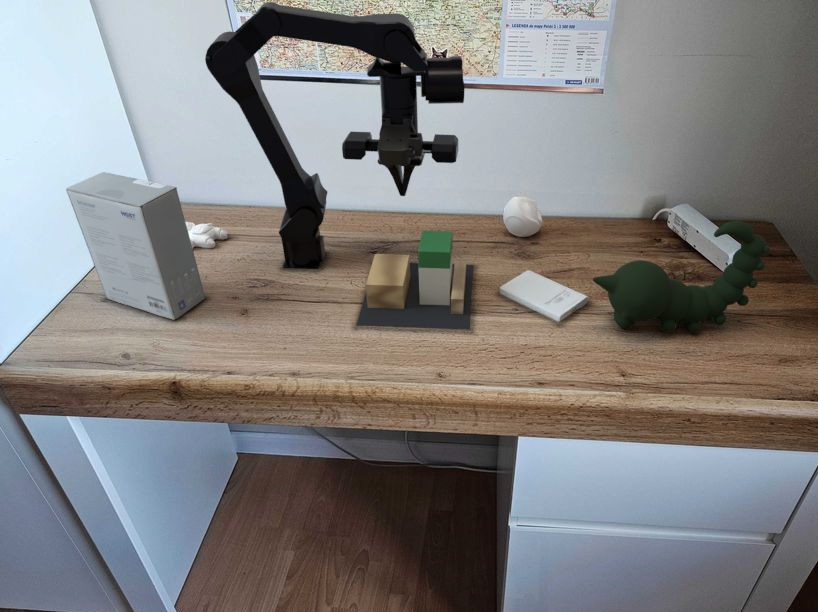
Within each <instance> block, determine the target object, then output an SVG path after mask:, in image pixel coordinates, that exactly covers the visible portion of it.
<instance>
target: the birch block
mask: <svg viewBox="0 0 818 612" xmlns="http://www.w3.org/2000/svg"><path fill="white" fill-rule="evenodd" d="M410 263H411V256H410V254H394V253H392V254H391V253H390V254H389V253H375V254H374V256H373V259H372V262H371V266H370V269H369V273H368V275H367V279H366V283H365V294H366V293H367V305H368V308H389V309H404V307H405V302H406V297H407V292H408V287H409V282H410Z"/></svg>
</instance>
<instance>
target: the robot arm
mask: <svg viewBox="0 0 818 612" xmlns="http://www.w3.org/2000/svg"><path fill="white" fill-rule="evenodd" d="M415 32H416V31H415V27H414V25H413V23H412V22H411V21H410V19H409V18H408V17H407V16H405V15H404V14H401V13H395V12H394V13H373V14H368V15H359V16H358V15H357V16H355V15H346V14H341V13H333V12H329V11H321V10H316V9H315V10H314V9H308V8H300V7H295V6H289V5H282V4H278V3H276V2H273V1H267V2H264V3H262V4H261V5H260V7H259V8H258V9H257V11H256V12H255V13H254V14H253V15H252V16H251V17H250V18H248V19H247V20H246V21H245V22H244V23H243V24H241V25H240V26H239V28H237V29H236V30H235V31H225V32H222V33H221V34H219V35H218V36H217V37H216V38H215V39H214V40H213V42H212V43H211V44H210V45H209V47H208V48H207V49H206V53H205V57H204V60H205V65H206V67H207V70H208V71H209V73H210V74H211V76H212V77H213V78H214V80H215V81H216V82H217V83H218V85H219V86H220V87H221V89H222V90H223V91H224V92H225V93H226V94H227V95H228V96H230V97H231V98H232V100H234V101H235V103H236V104H237V105H238V106H239V108H240V110H241V112H242V113H243V115H244V118H245V119H246V122H247V124H248V125H249V127H250V128H251V131H252V132H253V135H254V136H255V138H256V140H257V142H258V143H259V145H260V147H261V149H262V151H263V153H264V155H265V157H266V158H267V160H268V163H269V164H270V166H271V168H272V170H273V172H274V174H275V175H276V178H277V179H278V181H279V184H280V186H281V191H282V197H283V201H284V206H285V210H284V214H283V217H282V220H281V224H280V227H279V230H278V235H279V236H280V238H281V239H280V240H281V245H282V250H283V256H284V262H283V264H282V269H294V270H295V269H298V270H318V269H320V266H321V264H322V263H323V262H324V261H325V258H326V248H325V240H324V239H325V238H324V236H323V235H322V234H321V231H320V226H321V225H322V224H323V221H324V218H325V212H326V208H327V207H326V206H327V196H328V190H327V189H325V187H324V186H323V184H322V182H321V178H320V175H319V173H317V172H316V173H314V174H312V175H310V174H309V173H308V172H306V170H305V169H304V168H303V167H302V165H301V163H300V161H299V159H298V157H297V155H296V152H295V151H294V149H293V147H292V145H291V143H290V141H289V139H288V137H287V135H286V133H285V131H284V129H283V127H282V125H281V123H280V121H279V119H278V117H277V115H276V113H275V112H274V109H273V107H272V105H271V103H270V102H269V99H268V97H267V96H266V93H265V92H264V89H263V86H262V81H261V76H260V70H259V65H258V63H257V60H256V56H255V55H256V53H258V52H259V51H260V50H261V49H262V48H263V47H264V46H265V45H266V44H267V43H268V42H269V41H270V40H271V39H273V37H281V38H286V39H287V38H288V39H294V40H301V41H306V42H314V43H321V44H329V45H336V46H342V47H348V48H353V49H355V50H359V51H361V52H362V53H363V52H364V53H366V54H367V55H369V56H370V57H374V60H373V62H372V63H371V64H369V65H368V67H367V71H366V75H367V77H369V78H377V77H378V78H379V89H380V92H379V93H380V104H381V105H380V108H381V125H380V130H379V134H378V136H379V138H378V139H377V138H376V139H375V138H374V139H373V135H372V133H371V132H370V131H350V132H349V133H348V134H347V135H346V137H345V139H344V141H343V142H342V144H341V153H342V159H344V160H355V161H358V160H359V161H361V160H363V159H364V157H366V154H367V152H376V153H377V155H378V159H377V164H378V165H382V166H384V167H385V168H386V169H387V170H388V171H389V173H390V175H391V177H392V180H393V181H394V184H395V186H396V189H397V192H398V194H399V196H400V197H406V195H407V192H408V188H409V185H410V181H411V177H412V174H413V172H414V169H415V167H420V166H422V165H423V162H424V159H425V154H431V159H432V160H433V161H434V162H435V163H442V164H453V163H456V162H457V159H458V155H459V138H458V136H456V134H440V133H439V134H437V133H435V134H434V137H433V140H432V141H431V140H424V137H423V134H422V132H419V125H418V124H419V123H418V121H419V120H418V88H417V87H418V86H417V77H420V96H421V98H425V99H424V100H425V101H427V102H428V105H432V104H433V105H435V104H441V105H442V104H464V101H465V81H464V70H463V69H464V67H463V57H462V56H461V55H454V56H449V57H428V55H427V53H426V51H425V48H423V47H422V45H421V44H420V43H419V41H418V40H417V39H416V33H415ZM402 64H403V65H402ZM402 167H403V168H402Z"/></svg>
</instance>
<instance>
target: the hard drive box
mask: <svg viewBox="0 0 818 612" xmlns="http://www.w3.org/2000/svg"><path fill="white" fill-rule="evenodd" d="M65 189H66V190H65V191H66V193H67V196H68V199H69V201H70V204H71V207H72V209H73V212H74V215H75V218H76V221H77V223H78V225H79V228H80V231H81V234H82V236H83V239H84V242H85V245H86V247H87V250H88V253H89V256H90V258H91V261H92V263H93V266H94V268H95V271H96V274H97V276H98V279H99V282H100V285H101V287H102V290H103V292H104V295H105V298H106V299H107V300H110V301H113V302H115V303H119V304H122V305H125V306H129V307H132V308H135V309H138V310H142V311H144V312H148V313H151V314H153V315H156V316H159V317H163V318H167V319H170V320H173V321H174V320H177V319H179V318H180V317H182V316H183V315H184V314H186V313H187V312H188V311H190V310H191V309H193V308H194V307H195V306H196V305H198V304H199V303H200V302H202V301H203V300H205V299H206V294H205V291H204V286H203V282H202V279H201V276H200V271H199V268H198V264H197V260H196V257H195V256H196V255H195V253H194V248H193V249H192V245H191V241H190V237H189V234H188V230H187V226H186V222H187V221H186V219H185V216H184V215H185V214H184V212H183V208H182V204H181V200H180V197H179V193H178V187H176V186H172V185H168V184H164V183H159V182H154V181H149V180H145V179H140V178H135V177H131V176H126V175H120V174H115V173H111V172H106V171H103V172H100V173H97V174H95V175H93V176H91V177H88V178H86V179H84V180H82V181H79V182H77V183H75V184H73V185H70V186H68V187H66V188H65Z"/></svg>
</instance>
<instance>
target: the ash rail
mask: <svg viewBox="0 0 818 612" xmlns="http://www.w3.org/2000/svg"><path fill="white" fill-rule="evenodd" d="M454 264H455V265H454V275H453V284H452V293H451V314H462V315H463V310H464V297H465V284H466V265H467V261H466V260H465V261H464V260H463V261H462V260H454Z"/></svg>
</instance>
